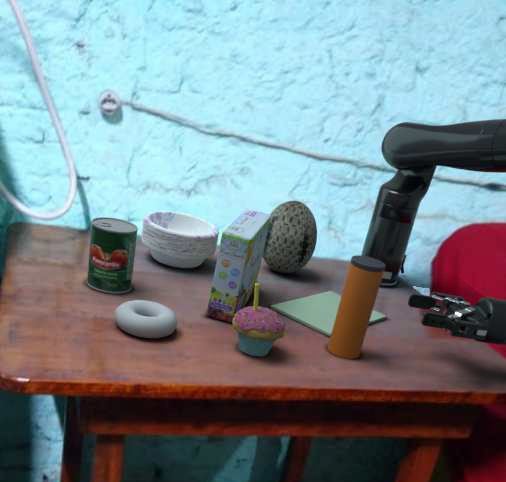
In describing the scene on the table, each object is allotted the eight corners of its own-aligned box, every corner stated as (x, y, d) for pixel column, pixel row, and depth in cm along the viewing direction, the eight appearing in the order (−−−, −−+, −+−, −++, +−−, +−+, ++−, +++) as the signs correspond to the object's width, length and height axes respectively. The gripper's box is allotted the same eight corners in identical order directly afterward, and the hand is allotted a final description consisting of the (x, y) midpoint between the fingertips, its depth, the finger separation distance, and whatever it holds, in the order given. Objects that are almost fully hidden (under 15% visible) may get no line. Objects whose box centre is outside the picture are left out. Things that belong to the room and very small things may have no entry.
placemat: (329, 293, 153) (330, 290, 153) (386, 318, 146) (387, 316, 146) (270, 308, 139) (270, 305, 138) (329, 337, 132) (330, 333, 132)
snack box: (235, 325, 128) (252, 239, 120) (204, 317, 128) (219, 230, 121) (257, 289, 146) (273, 212, 139) (230, 282, 147) (244, 205, 139)
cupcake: (242, 362, 115) (257, 289, 109) (218, 339, 121) (231, 268, 115) (288, 360, 119) (305, 289, 113) (263, 338, 125) (278, 269, 119)
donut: (160, 348, 114) (185, 327, 122) (163, 328, 112) (188, 308, 121) (102, 329, 116) (130, 310, 124) (103, 309, 114) (132, 291, 122)
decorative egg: (288, 262, 166) (304, 194, 159) (318, 281, 158) (335, 211, 151) (244, 261, 160) (258, 191, 152) (273, 282, 152) (289, 208, 144)
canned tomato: (126, 279, 137) (133, 219, 131) (135, 295, 131) (142, 233, 125) (83, 276, 134) (88, 215, 128) (89, 292, 128) (95, 229, 122)
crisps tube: (339, 342, 131) (363, 253, 123) (365, 354, 128) (391, 265, 120) (321, 348, 127) (345, 257, 119) (347, 361, 124) (374, 269, 116)
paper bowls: (211, 279, 146) (218, 239, 142) (134, 264, 144) (139, 224, 140) (214, 256, 159) (221, 220, 155) (144, 243, 157) (148, 205, 153)
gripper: (497, 287, 131) (411, 273, 128) (529, 318, 119) (435, 302, 116) (482, 327, 135) (398, 313, 132) (512, 360, 123) (420, 346, 120)
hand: (416, 308), depth 124 cm, fingers open, 8 cm apart
